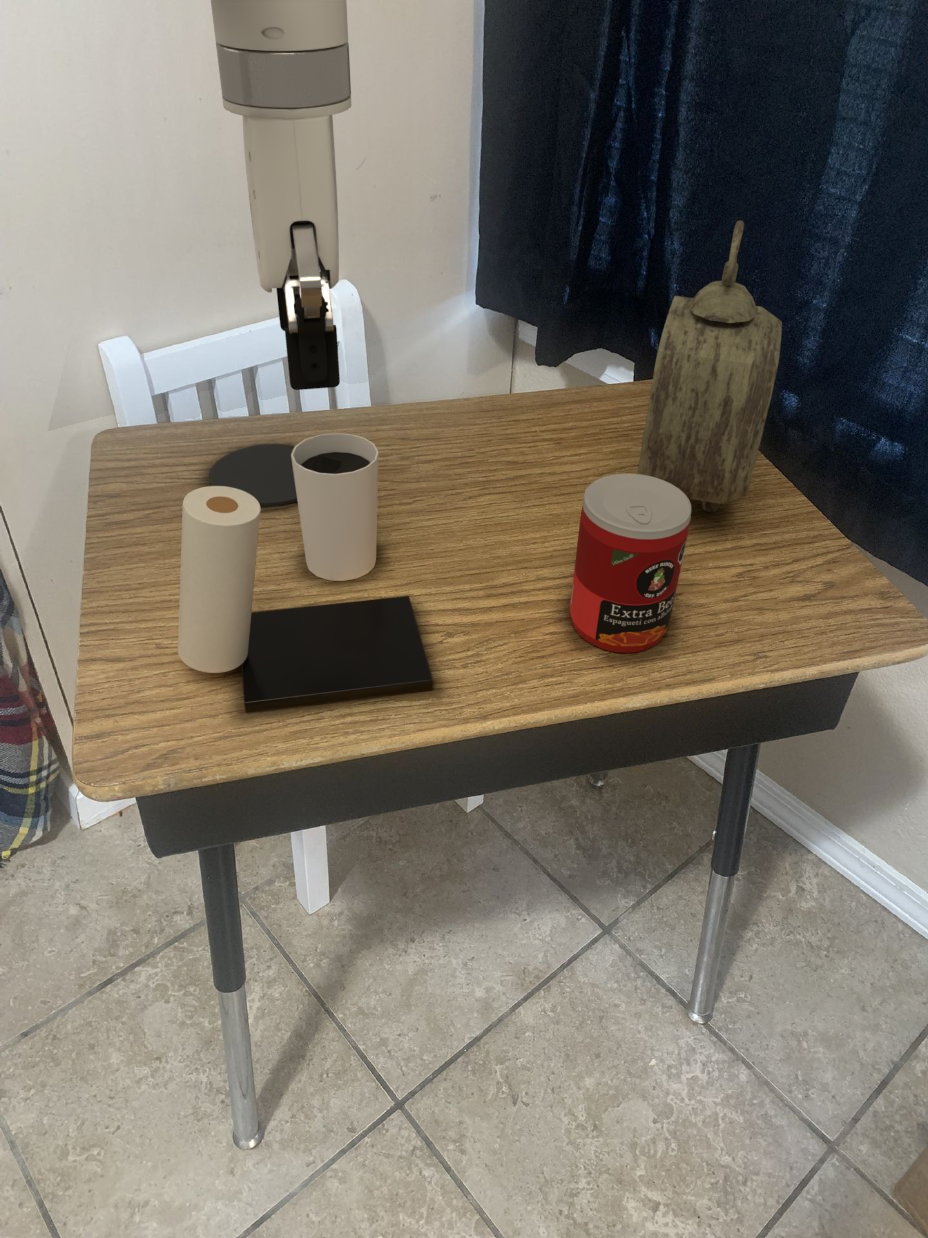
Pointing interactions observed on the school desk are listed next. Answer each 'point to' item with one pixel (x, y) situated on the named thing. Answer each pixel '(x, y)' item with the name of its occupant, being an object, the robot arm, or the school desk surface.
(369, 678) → the thin black tile
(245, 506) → the towel roll
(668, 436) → the wooden cowbell
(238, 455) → the coaster
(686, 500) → the canned food
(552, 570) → the school desk surface
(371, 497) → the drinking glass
